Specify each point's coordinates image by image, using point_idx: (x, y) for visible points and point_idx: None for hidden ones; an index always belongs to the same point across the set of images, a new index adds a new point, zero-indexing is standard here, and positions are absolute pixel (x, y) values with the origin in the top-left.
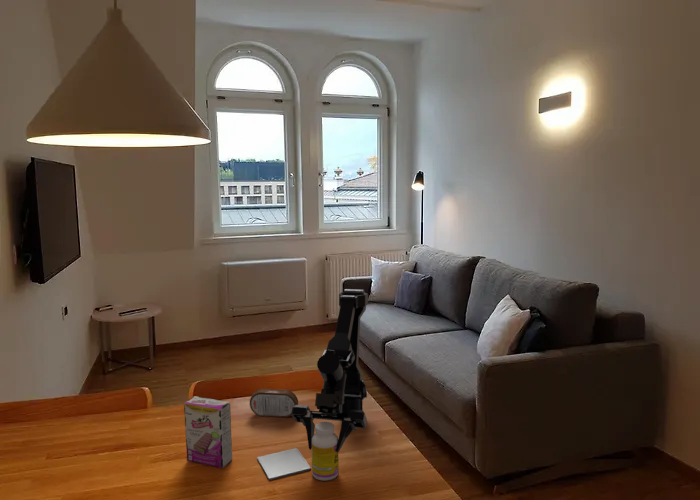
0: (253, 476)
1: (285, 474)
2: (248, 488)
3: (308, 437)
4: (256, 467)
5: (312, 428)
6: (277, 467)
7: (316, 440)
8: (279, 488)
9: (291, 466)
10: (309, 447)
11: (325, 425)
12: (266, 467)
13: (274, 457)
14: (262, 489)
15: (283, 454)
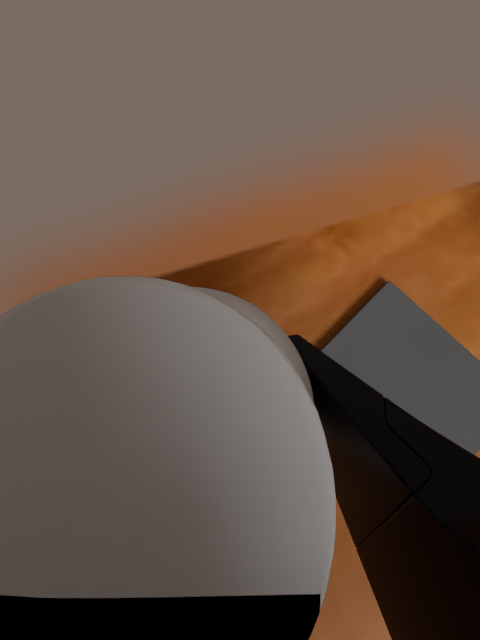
0: (446, 289)
1: (350, 320)
2: (419, 229)
3: (345, 375)
4: (473, 341)
5: (387, 528)
6: (402, 353)
7: (233, 306)
8: (330, 256)
9: (357, 376)
10: (294, 335)
11: (92, 532)
12: (439, 341)
13: (455, 418)
14: (376, 236)
15: None
